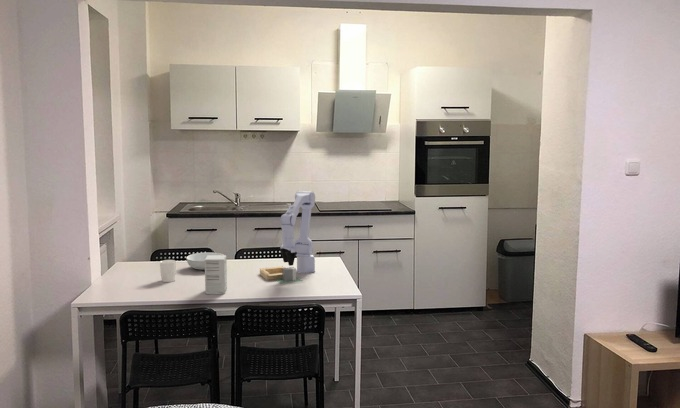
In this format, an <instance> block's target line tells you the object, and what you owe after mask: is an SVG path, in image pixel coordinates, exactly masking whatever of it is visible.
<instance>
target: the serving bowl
mask: <svg viewBox="0 0 680 408" xmlns="http://www.w3.org/2000/svg"><path fill="white" fill-rule="evenodd" d="M208 255H224V254H223V253H220V252H213V251H212V252H207V251H206V252H198V253H191V254H189V255H188V256H186V257H185V258H186V263H187V265H188V266H189V267H191V268H192V269H195V270H200V271H205V259H206V257H207V256H208Z"/></svg>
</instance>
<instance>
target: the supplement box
mask: <svg viewBox="0 0 680 408" xmlns="http://www.w3.org/2000/svg"><path fill="white" fill-rule="evenodd" d="M227 267H228V266H227V255H225V254H223V255H208V256H207V257H206V259H205V270H204V285H205V287H204V288H205V295H225V294H226V292H227V290H228V274H227V273H228V272H227V271H228V270H227Z"/></svg>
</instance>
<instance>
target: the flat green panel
mask: <svg viewBox="0 0 680 408" xmlns="http://www.w3.org/2000/svg"><path fill="white" fill-rule="evenodd" d="M274 280H275V281H276V282H278V283H279V284H288V283H295V282H303V280H302V279H301V278H299V277H298V276H296V280H294V281H284V280H282V278H280V279H274Z"/></svg>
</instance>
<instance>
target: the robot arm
mask: <svg viewBox="0 0 680 408" xmlns="http://www.w3.org/2000/svg"><path fill="white" fill-rule="evenodd" d="M294 199H295V200H294V202H293V204H292V205H290V206H289V207H288V209H287V210H286V212H285V213H283V214H281V216H280V220H279V221H280V222H279V223H280V227H281V230H282V233H281V234H282V244H281V246H280V247H279V251H280V252H281V253H280V254H281V256H282V259H283V260H282V261H283V263H288V266H289V267H292V266H294V263H295V258H296V273H298V274H305V273H315V272H316V269H315V268H316V260H315V256H314V255H313V253H314V242H313V240H311V238H310V237H309V236H310V227H311V219H312V218H311V216H312V209H313V208H315V204H316V194H315V192H314V191H309V190H308V191H307V190H306V191H304V190H297V191H296V192H295V195H294ZM300 208H301V209H302V210H301V221H300V229H299V237H298V238H297V239H294V235H295V234H294V229H295V228H294V226H295V225H296V220H297V216H298V215H299V213H300ZM294 241H295V242H294Z"/></svg>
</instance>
